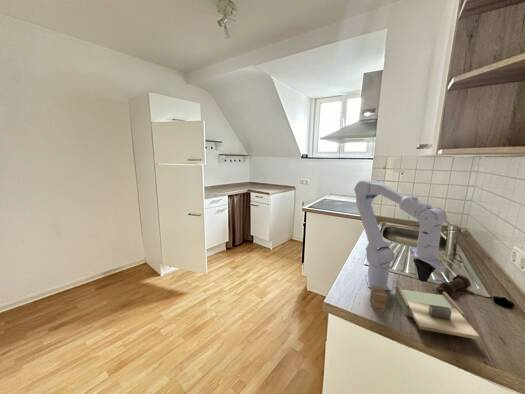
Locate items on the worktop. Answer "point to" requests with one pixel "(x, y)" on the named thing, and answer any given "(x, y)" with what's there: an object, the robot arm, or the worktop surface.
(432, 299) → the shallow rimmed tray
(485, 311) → the worktop surface
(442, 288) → the bolt
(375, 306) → the block
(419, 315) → the lid
